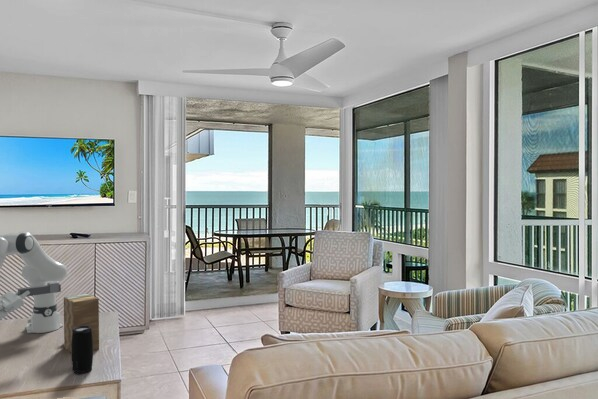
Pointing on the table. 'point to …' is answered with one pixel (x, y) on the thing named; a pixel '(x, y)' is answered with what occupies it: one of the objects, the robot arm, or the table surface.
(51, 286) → the dark grey square bar
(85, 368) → the portable speaker
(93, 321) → the panel block
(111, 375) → the table surface
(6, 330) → the table surface
